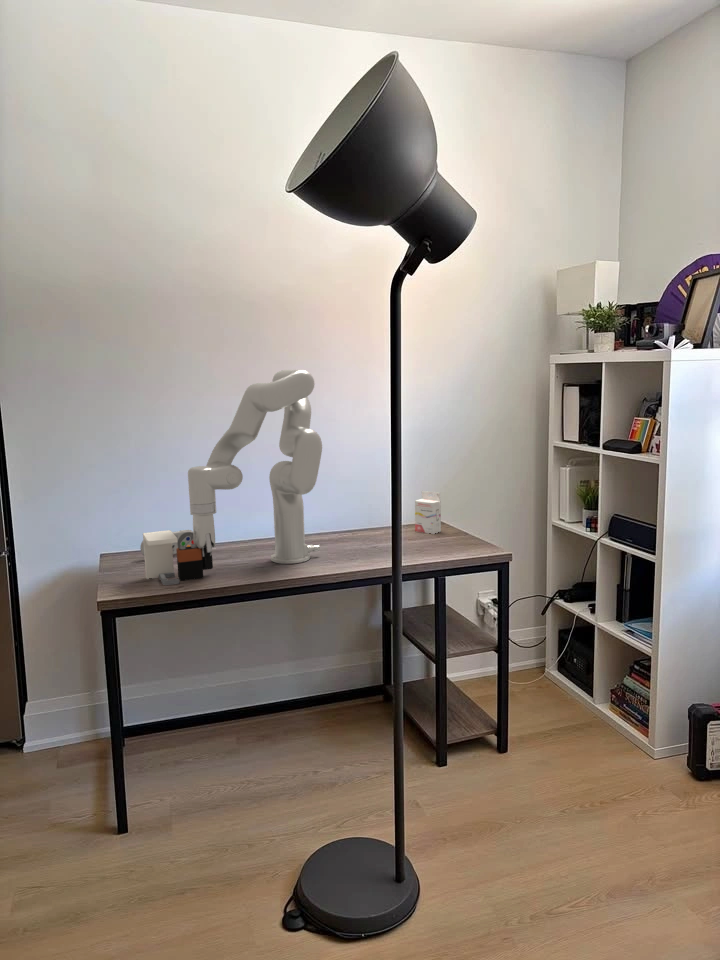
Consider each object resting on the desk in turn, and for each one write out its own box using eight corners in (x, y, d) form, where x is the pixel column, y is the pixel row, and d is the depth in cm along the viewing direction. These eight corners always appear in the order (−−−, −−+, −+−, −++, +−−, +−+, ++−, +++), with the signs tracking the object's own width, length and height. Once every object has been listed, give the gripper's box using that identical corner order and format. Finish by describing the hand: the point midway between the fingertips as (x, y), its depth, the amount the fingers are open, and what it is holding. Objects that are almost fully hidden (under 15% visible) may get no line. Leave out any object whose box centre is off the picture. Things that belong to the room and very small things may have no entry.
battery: (203, 578, 216) (201, 545, 215) (180, 581, 214) (177, 548, 212) (201, 574, 220) (199, 542, 219) (178, 577, 218) (175, 544, 216)
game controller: (143, 562, 238) (141, 537, 236) (141, 560, 240) (139, 535, 238) (200, 552, 248) (199, 528, 247) (198, 551, 250) (197, 527, 248)
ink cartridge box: (414, 531, 270) (413, 492, 268) (421, 529, 274) (421, 490, 272) (434, 534, 265) (433, 494, 263) (441, 531, 269) (441, 492, 267)
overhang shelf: (173, 574, 221) (170, 530, 219) (180, 584, 210) (177, 538, 208) (146, 578, 218) (142, 533, 216) (151, 588, 207) (148, 541, 205)
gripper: (185, 505, 222) (189, 564, 224) (195, 514, 208) (199, 576, 211) (210, 503, 225) (214, 561, 227) (221, 511, 211) (225, 573, 214)
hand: (207, 568), depth 219 cm, fingers closed
